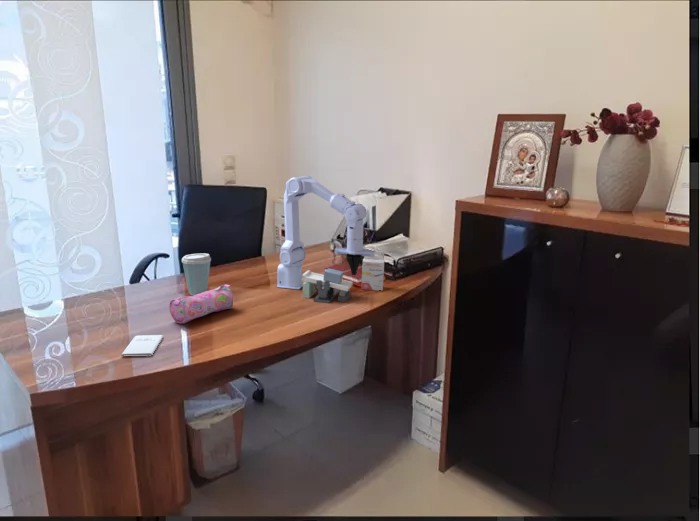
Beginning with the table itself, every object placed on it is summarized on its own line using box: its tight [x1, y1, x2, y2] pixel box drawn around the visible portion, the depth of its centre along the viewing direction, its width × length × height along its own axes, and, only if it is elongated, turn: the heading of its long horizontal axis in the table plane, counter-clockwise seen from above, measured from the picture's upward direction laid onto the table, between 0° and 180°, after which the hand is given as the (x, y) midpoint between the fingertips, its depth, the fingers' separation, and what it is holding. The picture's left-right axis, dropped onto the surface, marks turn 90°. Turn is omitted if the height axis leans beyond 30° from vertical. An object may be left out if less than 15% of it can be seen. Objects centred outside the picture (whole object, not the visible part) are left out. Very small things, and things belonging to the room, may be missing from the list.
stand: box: [313, 280, 340, 304], centre depth 187 cm, size 6×13×8 cm, turn 165°
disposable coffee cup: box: [181, 252, 212, 296], centre depth 187 cm, size 11×11×15 cm
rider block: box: [323, 267, 344, 284], centre depth 185 cm, size 6×4×4 cm
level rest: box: [302, 281, 316, 299], centre depth 189 cm, size 2×7×6 cm, turn 165°
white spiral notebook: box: [121, 334, 164, 357], centre depth 143 cm, size 2×8×12 cm
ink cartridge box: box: [361, 251, 385, 292], centre depth 196 cm, size 9×5×15 cm, turn 84°
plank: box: [302, 269, 354, 296], centre depth 186 cm, size 18×10×4 cm, turn 76°
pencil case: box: [169, 284, 234, 324], centre depth 166 cm, size 21×9×9 cm, turn 141°
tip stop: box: [337, 290, 352, 303], centre depth 186 cm, size 3×7×2 cm, turn 165°
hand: (354, 274), depth 183 cm, fingers closed
